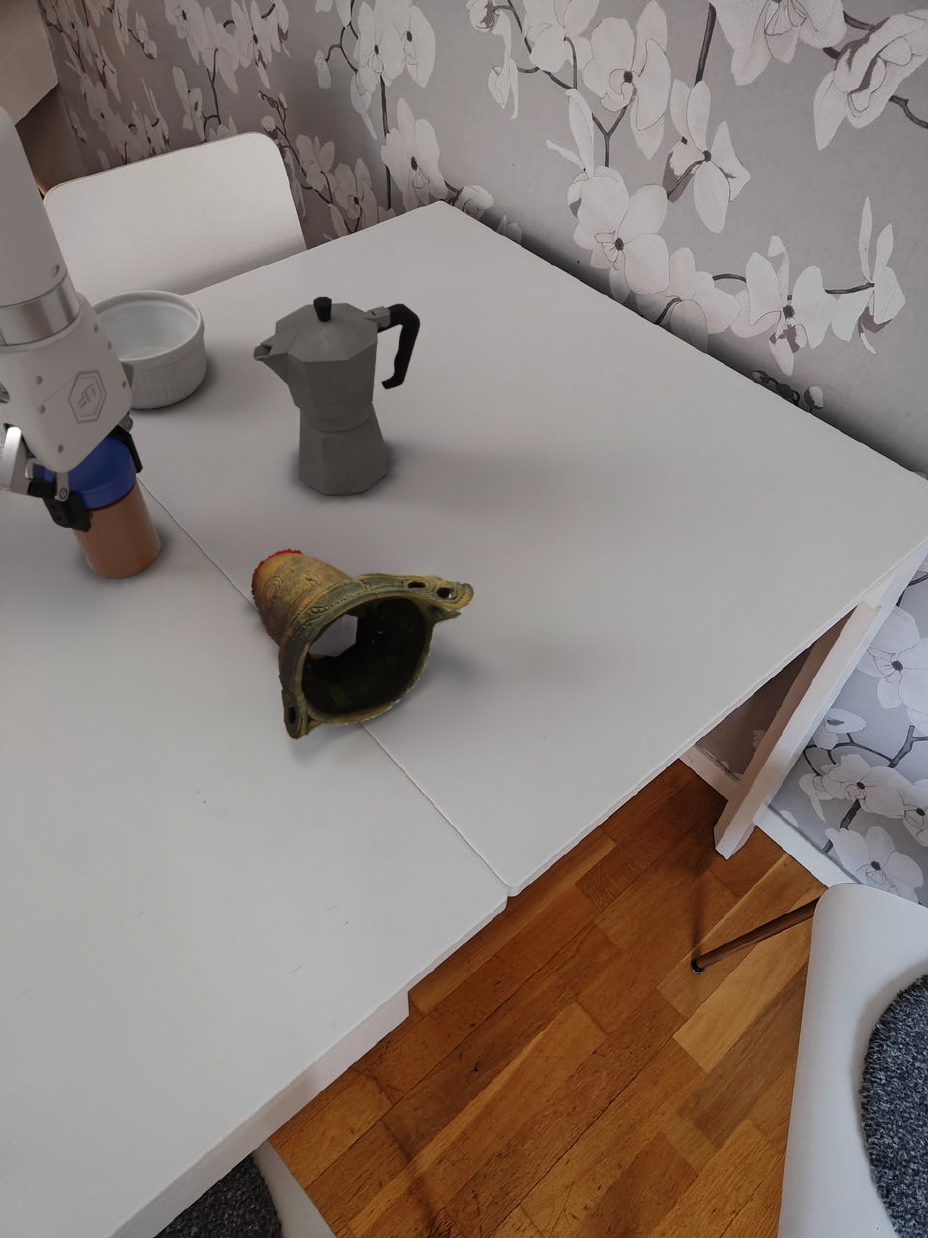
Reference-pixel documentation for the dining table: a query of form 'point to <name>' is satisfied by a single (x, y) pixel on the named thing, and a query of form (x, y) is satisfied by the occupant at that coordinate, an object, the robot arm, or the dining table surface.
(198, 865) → the dining table surface
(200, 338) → the ramekin
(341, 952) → the dining table surface
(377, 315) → the coffeepot
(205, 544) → the dining table surface
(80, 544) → the jar
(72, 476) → the lid
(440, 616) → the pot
